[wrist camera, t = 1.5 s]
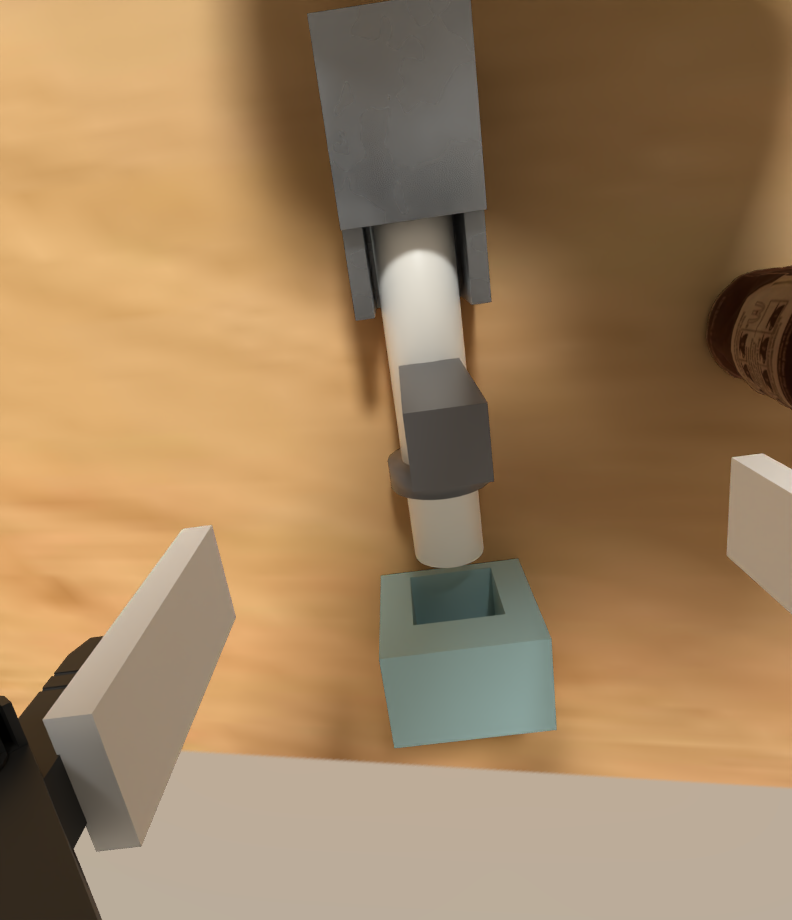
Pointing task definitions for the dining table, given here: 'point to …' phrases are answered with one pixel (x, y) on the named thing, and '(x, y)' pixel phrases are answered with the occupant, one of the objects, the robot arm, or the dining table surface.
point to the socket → (464, 655)
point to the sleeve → (403, 130)
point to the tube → (432, 391)
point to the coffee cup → (756, 331)
